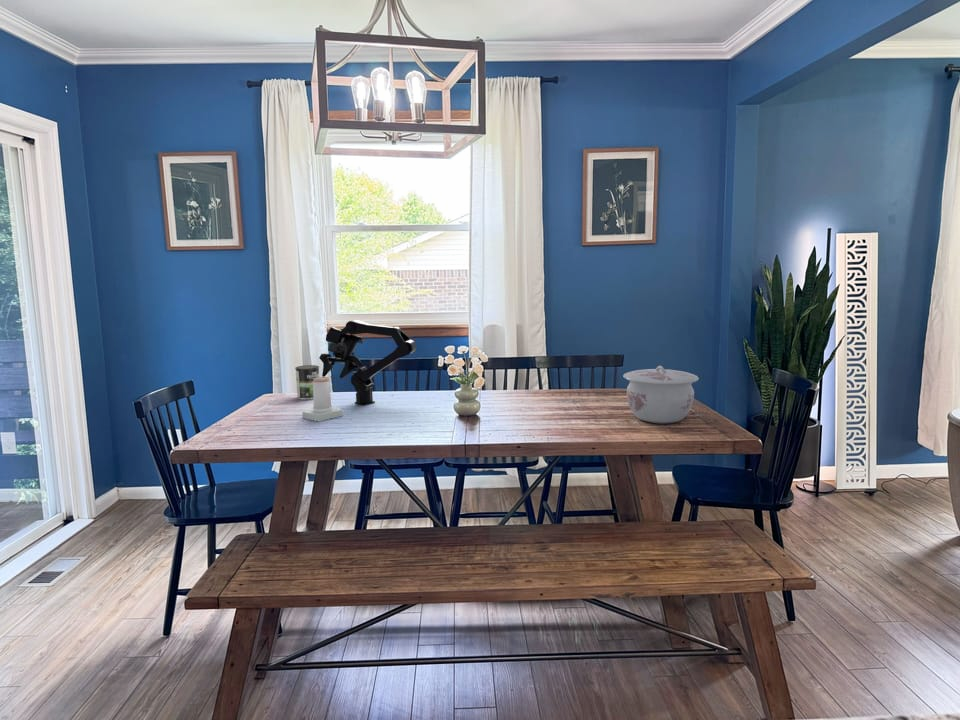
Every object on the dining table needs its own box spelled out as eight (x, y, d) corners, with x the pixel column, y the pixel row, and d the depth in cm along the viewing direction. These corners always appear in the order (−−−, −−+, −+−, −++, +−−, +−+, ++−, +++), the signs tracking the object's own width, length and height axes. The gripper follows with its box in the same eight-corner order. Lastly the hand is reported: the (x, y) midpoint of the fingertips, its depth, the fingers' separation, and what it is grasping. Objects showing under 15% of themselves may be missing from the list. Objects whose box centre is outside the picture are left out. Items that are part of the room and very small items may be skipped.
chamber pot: (675, 433, 222) (677, 374, 218) (608, 420, 240) (609, 366, 237) (710, 418, 241) (712, 364, 238) (645, 407, 260) (647, 357, 257)
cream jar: (317, 408, 256) (315, 376, 254) (335, 408, 255) (333, 376, 253) (310, 412, 249) (308, 380, 247) (328, 413, 248) (326, 380, 246)
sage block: (327, 412, 260) (327, 406, 259) (343, 415, 253) (342, 409, 253) (302, 417, 251) (302, 411, 250) (317, 421, 244) (317, 415, 244)
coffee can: (325, 396, 290) (323, 366, 288) (306, 400, 282) (304, 369, 279) (310, 394, 296) (309, 364, 294) (292, 398, 288) (290, 367, 286)
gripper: (320, 334, 269) (304, 364, 261) (355, 336, 261) (339, 367, 253) (334, 350, 277) (318, 379, 269) (368, 352, 269) (353, 383, 261)
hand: (331, 377), depth 263 cm, fingers open, 9 cm apart
